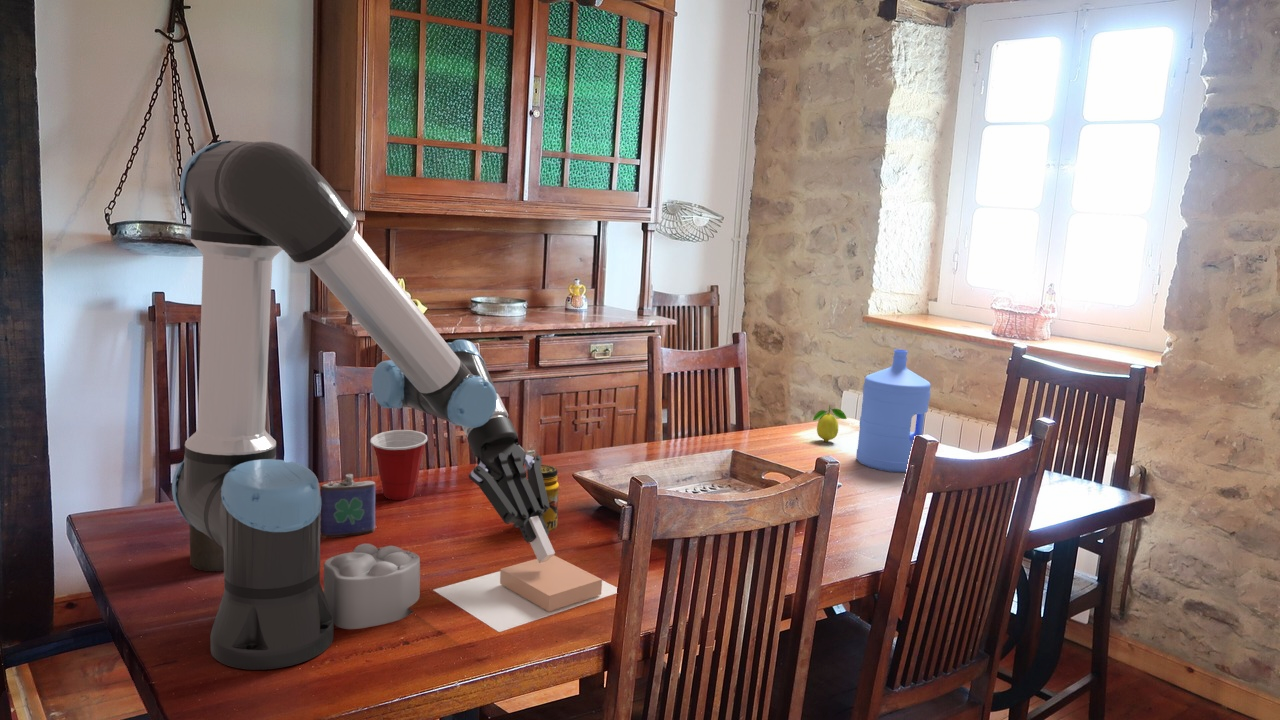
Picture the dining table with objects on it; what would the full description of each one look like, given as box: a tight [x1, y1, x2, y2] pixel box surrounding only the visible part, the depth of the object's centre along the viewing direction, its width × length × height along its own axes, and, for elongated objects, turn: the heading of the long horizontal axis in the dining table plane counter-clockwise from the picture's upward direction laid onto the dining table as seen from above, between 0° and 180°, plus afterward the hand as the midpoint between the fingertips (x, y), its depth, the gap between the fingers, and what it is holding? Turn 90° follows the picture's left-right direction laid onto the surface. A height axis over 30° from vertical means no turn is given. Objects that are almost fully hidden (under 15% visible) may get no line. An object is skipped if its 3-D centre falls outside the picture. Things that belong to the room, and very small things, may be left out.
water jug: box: [855, 348, 932, 473], centre depth 228 cm, size 16×16×28 cm
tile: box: [499, 554, 603, 612], centre depth 143 cm, size 10×3×12 cm
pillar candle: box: [188, 523, 224, 573], centre depth 149 cm, size 10×10×15 cm
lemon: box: [812, 404, 848, 443], centre depth 247 cm, size 7×6×10 cm
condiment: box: [526, 464, 560, 532], centre depth 169 cm, size 7×8×12 cm
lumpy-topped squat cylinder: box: [323, 543, 421, 630], centre depth 136 cm, size 10×13×9 cm
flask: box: [319, 473, 376, 538], centre depth 164 cm, size 9×3×11 cm, turn 116°
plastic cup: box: [370, 429, 428, 501], centre depth 184 cm, size 11×11×12 cm
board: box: [432, 570, 618, 633], centre depth 143 cm, size 23×17×1 cm
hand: (547, 558), depth 143 cm, fingers closed
